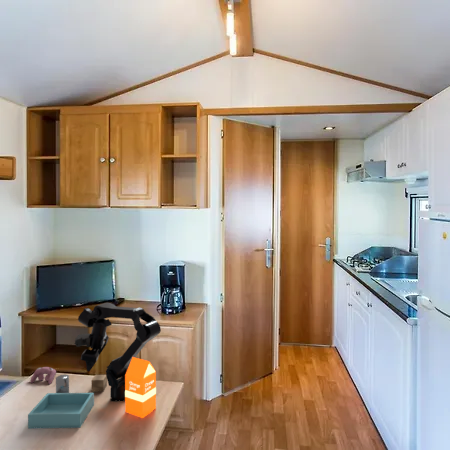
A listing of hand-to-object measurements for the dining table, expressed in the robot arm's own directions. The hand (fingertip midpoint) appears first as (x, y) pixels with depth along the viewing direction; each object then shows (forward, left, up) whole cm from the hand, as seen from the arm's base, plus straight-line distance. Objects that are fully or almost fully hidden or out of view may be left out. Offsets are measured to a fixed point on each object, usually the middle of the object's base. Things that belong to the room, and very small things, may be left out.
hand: (91, 365), depth 156 cm
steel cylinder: (+11, +4, -10) cm, 16 cm away
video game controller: (+24, -8, -11) cm, 27 cm away
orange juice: (-24, +18, -11) cm, 32 cm away
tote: (+4, +21, -10) cm, 24 cm away
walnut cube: (-3, 0, -10) cm, 11 cm away
